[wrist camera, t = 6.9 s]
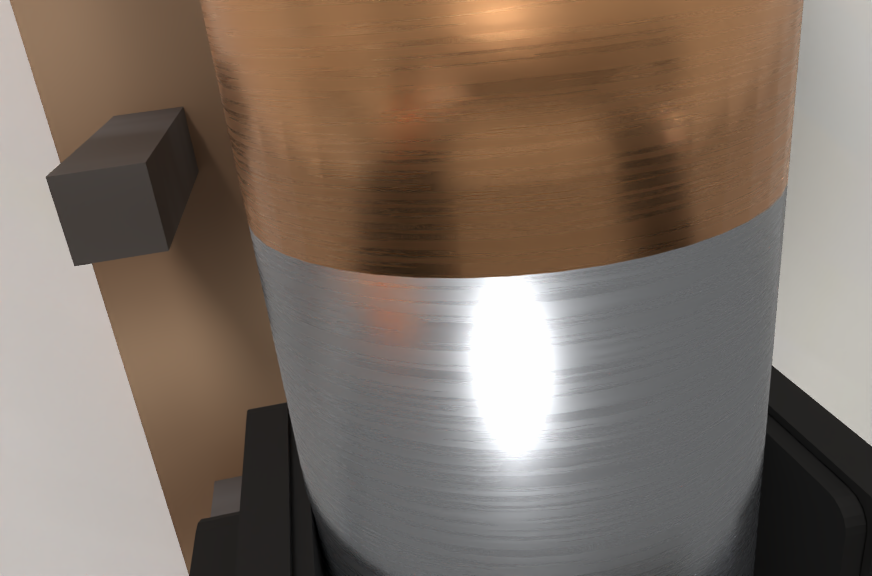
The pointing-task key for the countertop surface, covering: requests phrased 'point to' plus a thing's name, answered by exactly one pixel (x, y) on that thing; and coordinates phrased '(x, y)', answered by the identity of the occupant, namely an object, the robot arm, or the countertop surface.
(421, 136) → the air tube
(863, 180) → the countertop surface
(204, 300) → the board
